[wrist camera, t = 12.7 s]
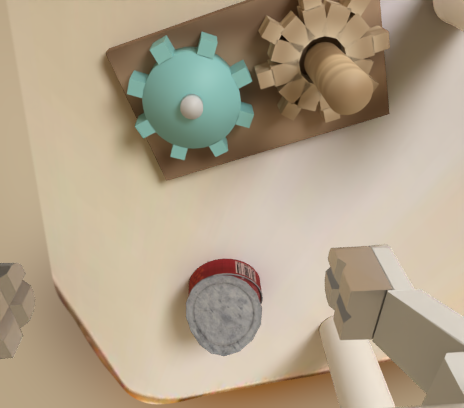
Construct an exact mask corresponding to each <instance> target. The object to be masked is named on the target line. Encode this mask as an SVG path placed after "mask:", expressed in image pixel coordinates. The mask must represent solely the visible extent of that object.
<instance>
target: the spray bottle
mask: <svg viewBox="0 0 464 408" xmlns="http://www.w3.org/2000/svg"><path fill="white" fill-rule="evenodd" d="M333 317H334V316H331V317H329V318H328V319H326V320H325V321H324V322H323V323H322V324H321V326H320V329H319V333H320V337H321V340H322V344H323V348H324V351H325V355H326V358H327V362H328V366H329V369H330V373H331V376H332V380H333V384H334V387H335V391H336V395H337V398H338V402H339V405H340V408H391V407H395V405H394V402H393V400H392V397H391V394H390V392H389V389H388V387H387V384H386V382H385V379H384V377H383V374H382V372H381V369H380V366H379V364H378V361H377V359H376V356H375V354H374V351H373V348H372V346H371V343H370V341H369V339H366V340H340V339H339V335H338V332H337V329H336V326H335V323H334V320H333Z"/></svg>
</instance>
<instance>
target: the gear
mask: <svg viewBox="0 0 464 408" xmlns="http://www.w3.org/2000/svg"><path fill="white" fill-rule="evenodd" d="M216 47H217V36H214V35H211V34H208V33H205V32H201V36H200V39H199V43H198V47H182V48H178V49H174V47H173V45H172V44H171V42H170V40H169V38H168V37H167V35H166V36H164V37H162V38H161V39H159V40H157V41H155V42H154V43H153V44H152V46H151V48H150V52H151V53H152V55H153V56H154V58H155V60H156V61H157V62H156V63H155V64H154V66H153V67H152V69H151V71H150V73H149V74H145V73H142V72H138V71H135V70H134V71H133V73H132V75H131V77H130V79H129V85H128V90H127V94H129V95H132V96H136V97H139V98H142V102H143V110H144V113H143V114H141V115H139V116H138V119H137V122H136V124H135V127H136V129H137V130H138V132H139V133H140V134H141V136H142V137H143V139H144V138H145V137H147V136H149V135H151V134H153V133H155V132H156V133H157V134H158V135H159V136H160V137H162V138H163V139H164V140H166V141H167V142H169V143H171V144H172V149H171V155H170V157H173V158H177V159H181V160H185V156H186V153H187V149H188V148H191V149H195V148H204V147H208V146H209V147H210V149H211V151H212V152H213V154H214V156H215V157H217V156H219V155H221V154H223V153H225V152H227V151H228V144H227V139H226V136H227V135H228V134H229V133H230V132H231V130H232V129H233V127H234V126H235V124H236V125H240V126H243V127H247V128H249V127H250V125H251V122H252V119H253V116H254V112H253V108H252V105H251V104H248V103H244V102H241V99H240V92H239V88H241V87H243V86H245V85H247V84H249V83H251V82H252V79H251V75H250V72H249V70H248V68H247V66H246V64H245V62H244V60H241V61H239V62H237V63H235V64H234V65H232V66H229V65H228V64H227V62H226V61H225V60H224V59H223V58H221V57H220V56H219V55H217V54H215V50H216Z"/></svg>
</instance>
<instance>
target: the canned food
mask: <svg viewBox="0 0 464 408" xmlns="http://www.w3.org/2000/svg"><path fill="white" fill-rule="evenodd" d="M262 299H263V297H262V292H261V286H260V278H259V276H258V273H257V272H256V271H255V270H254V268H252V267H251V266H250V265H248V264H246V263H244V262H242V261H239V260H234V259H218V260H213V261H210V262H207V263H205V264H203V265H202V266H200V267H199V268H197V269H196V270H195V272H194V273H193V274H192V276H191V278H190V281H189V297H188V299H187V302H186V318H187V321H188V324H189V327H190V330H191V332H192V334H193V335H194V336H195V338H196V339H197V341H198V343H199V344H200V345H201V346H202V347H203V348H205V349H206V350H207V351H208V352H210V353H211V354H218V355H221V356H226V355H230V354H233V353H236V352H239V351H240V350H241V349H243V348H244V347H245V346H246V345H247V344H248V343H249V342H251V341H252V340H253V338H254V336H255V334H256V332H257V330H258V329H259V327H260V325H261V315H262V306H261V304H262Z"/></svg>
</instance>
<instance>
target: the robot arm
mask: <svg viewBox="0 0 464 408" xmlns="http://www.w3.org/2000/svg"><path fill="white" fill-rule="evenodd" d="M328 261H329V264H330V268H329V269H328V270H327V271H326V274H325V292H326V298H327V301H328V304H329V306H330V307H331V308H333V309H334V310H335V312H334V317H333V320H334V323H335V326H336V329H337V332H338V335H339V339H340V340H366V339H373V342H374V343H375V344H376V345H377V346H378V347H379V348H380V349H381V350H382V351H383V352H384V353H385V354H386V355H387V356H388V357H389V358H390V359H391V360H392V361H393V362H394V363H396V364H397V365H398V366H399V367H400V368H401V369H402V370H403V371H404V372H405V373H406V374H407V375H408V376H409V377H410V378H411V379H412V380H413V381H414V382H415V383H416V384H417V385H418V386H419V387H420V388H421V389H422V390H423V391H424V392H425V393H426V396H425V398H424V401H423V403H422V405H421V406H408V407H391V408H464V317H463V316H462V315H460V314H459V313H457V312H456V311H454V310H452V309H451V308H449V307H448V306H446V305H445V304H443V303H442V302H440V301H438V300H437V299H435V298H434V297H432V296H431V295H429V294H428V293H426V292H424V291H423V290H421V289H414V287H413V285H412V283H411V282H410V280H409V278H408V276H407V275H406V273H405V271H404V270H403V268H402V266H401V264H400V263H399V261H398V259H397V257H396V256H395V254H394V252H393V251H392V249H391V247H390V246H388V245H372V246H359V247H340V248H331V249H330V251H329V256H328ZM24 276H25V271H24V269H23V267H22V265H21V264H18V263H0V359H5V358H13V357H14V354H15V352H16V350H17V348H18V345H19V343H20V341H21V339H22V337H23V334H22V331H21V329H20V328H21V327H23V326H24V325H25V324H26V323H28V322H29V321H30V319H31V316H32V314H33V312H34V305H35V297H34V291H33V289H32V287H31V285H29V284H28V283H27V282H25V281H24V280H23V278H24Z"/></svg>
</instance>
